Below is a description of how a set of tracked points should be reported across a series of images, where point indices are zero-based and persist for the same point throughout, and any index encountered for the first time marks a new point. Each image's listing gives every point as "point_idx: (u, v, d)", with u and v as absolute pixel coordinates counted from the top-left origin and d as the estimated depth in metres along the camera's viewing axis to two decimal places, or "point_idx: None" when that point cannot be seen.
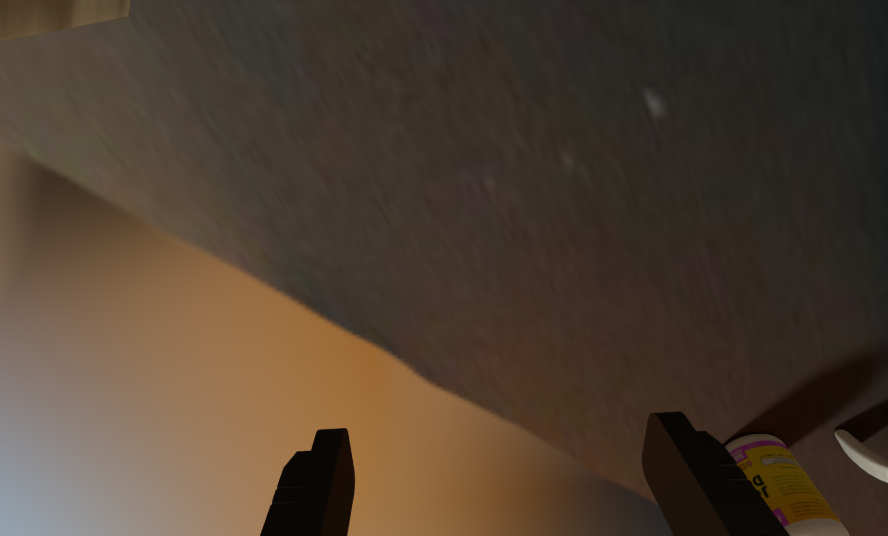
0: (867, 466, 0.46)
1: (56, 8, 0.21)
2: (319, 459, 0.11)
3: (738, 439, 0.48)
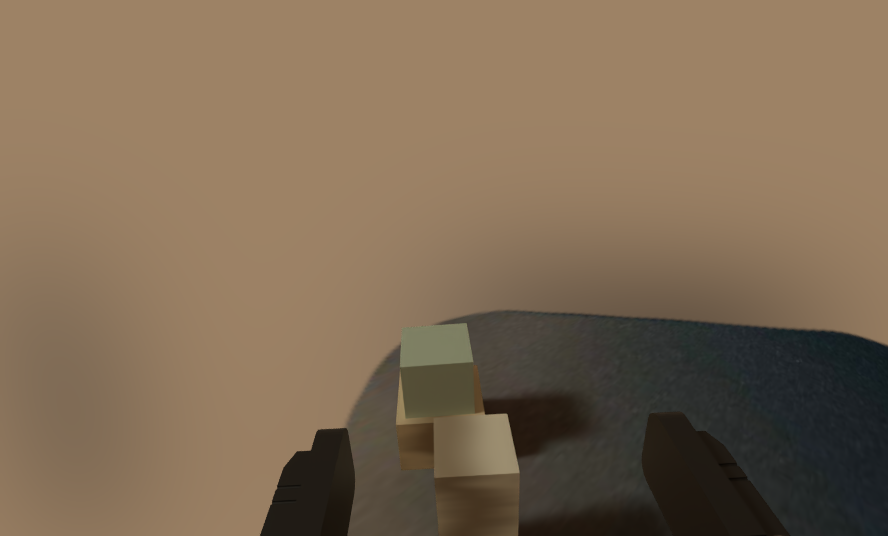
0: None
1: None
2: (319, 459, 0.11)
3: None
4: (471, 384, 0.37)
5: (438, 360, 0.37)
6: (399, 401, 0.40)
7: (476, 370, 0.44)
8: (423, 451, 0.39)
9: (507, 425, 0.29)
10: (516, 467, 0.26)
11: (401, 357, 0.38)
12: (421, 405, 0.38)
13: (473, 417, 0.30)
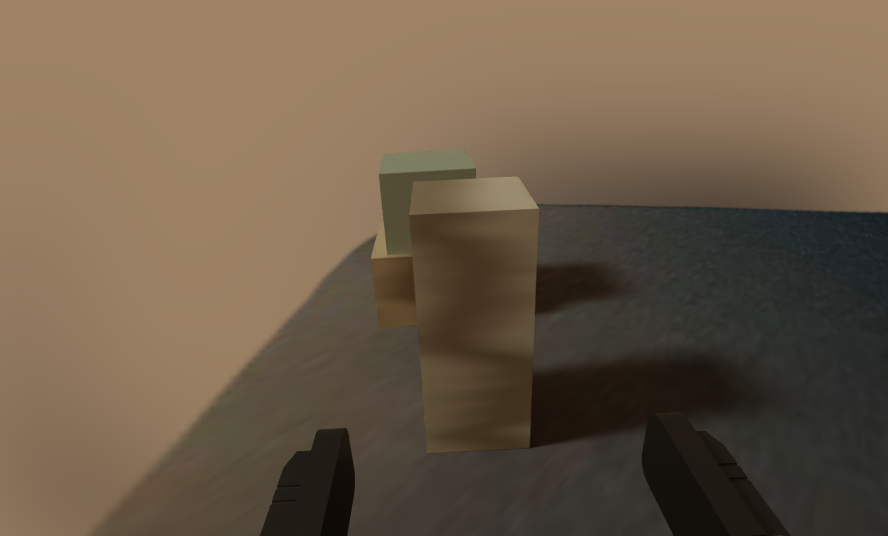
0: None
1: (443, 328, 0.19)
2: (319, 459, 0.11)
3: None
4: None
5: (430, 168, 0.28)
6: (377, 241, 0.32)
7: None
8: (407, 300, 0.30)
9: (518, 182, 0.20)
10: (533, 205, 0.17)
11: (381, 168, 0.29)
12: (407, 235, 0.29)
13: (470, 180, 0.21)
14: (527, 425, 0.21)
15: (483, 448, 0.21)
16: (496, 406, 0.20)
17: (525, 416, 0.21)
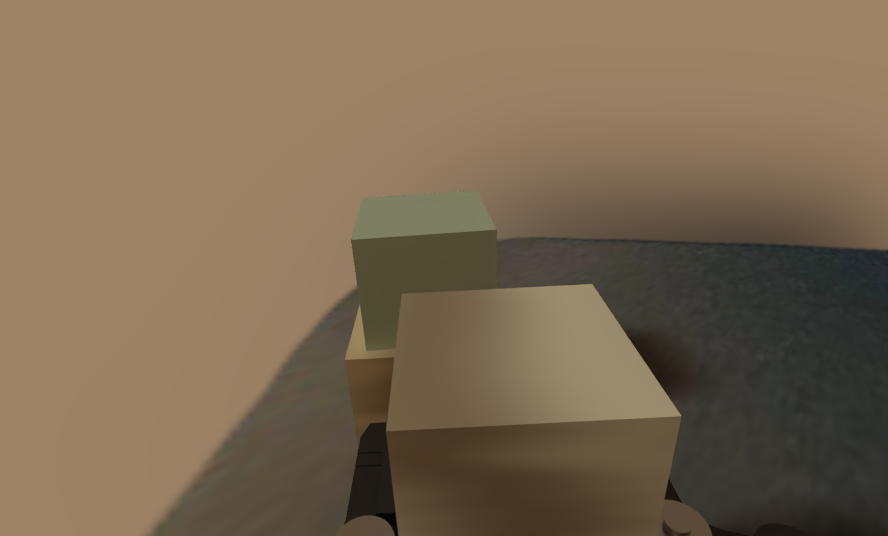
0: None
1: None
2: None
3: None
4: (492, 279, 0.19)
5: (428, 229, 0.19)
6: (357, 324, 0.22)
7: None
8: None
9: (600, 305, 0.11)
10: (663, 400, 0.08)
11: (356, 228, 0.19)
12: (396, 324, 0.20)
13: (505, 292, 0.11)
14: None
15: None
16: None
17: None
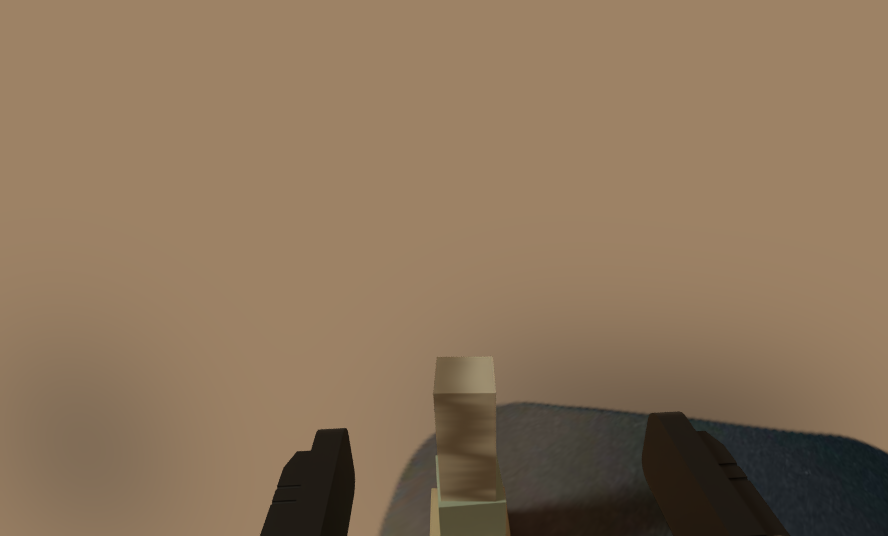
0: None
1: (449, 442, 0.37)
2: (319, 459, 0.11)
3: None
4: (503, 520, 0.40)
5: None
6: (431, 528, 0.43)
7: None
8: None
9: (491, 363, 0.38)
10: (494, 389, 0.35)
11: (438, 494, 0.40)
12: None
13: (467, 358, 0.39)
14: (494, 490, 0.39)
15: (470, 500, 0.40)
16: (477, 479, 0.39)
17: (493, 485, 0.39)
